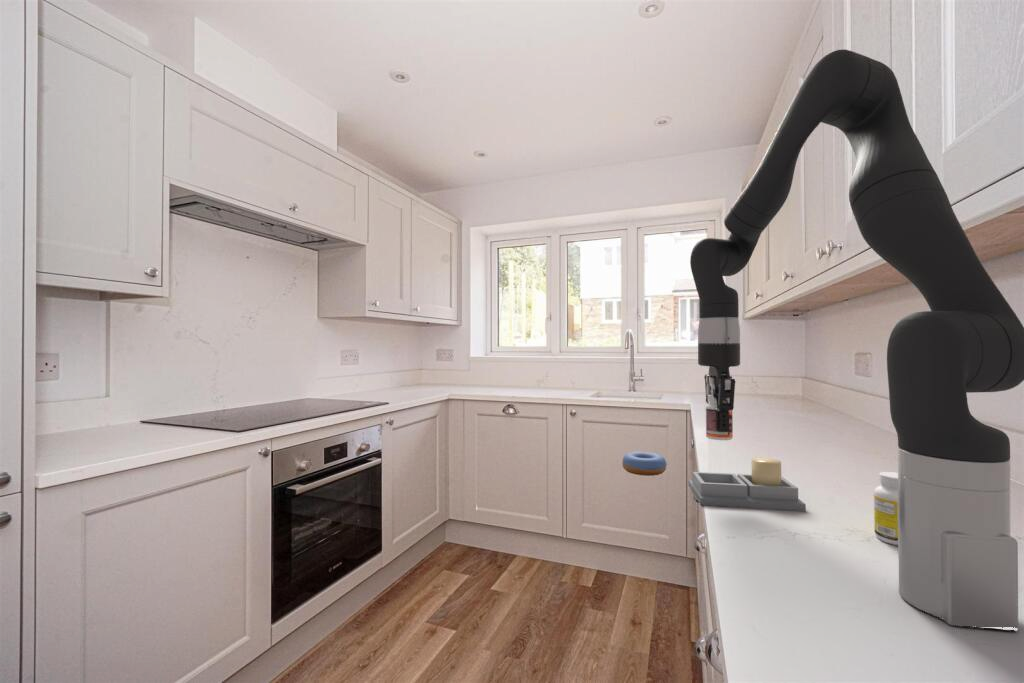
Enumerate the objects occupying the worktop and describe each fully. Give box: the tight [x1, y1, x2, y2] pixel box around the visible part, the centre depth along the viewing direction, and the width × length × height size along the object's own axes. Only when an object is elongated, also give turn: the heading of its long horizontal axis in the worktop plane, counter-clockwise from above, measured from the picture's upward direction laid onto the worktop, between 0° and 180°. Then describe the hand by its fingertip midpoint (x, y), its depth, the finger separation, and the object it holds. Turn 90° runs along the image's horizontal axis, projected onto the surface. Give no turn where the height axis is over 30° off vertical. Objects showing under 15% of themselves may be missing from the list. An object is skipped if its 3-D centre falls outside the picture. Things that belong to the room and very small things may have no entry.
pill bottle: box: [705, 394, 734, 441], centre depth 91 cm, size 5×5×8 cm
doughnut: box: [622, 451, 667, 477], centre depth 109 cm, size 10×10×5 cm
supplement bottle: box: [873, 471, 898, 546], centre depth 71 cm, size 5×5×10 cm
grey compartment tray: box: [688, 457, 807, 512], centre depth 90 cm, size 12×18×7 cm
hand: (718, 428), depth 91 cm, fingers closed on pill bottle, 4 cm apart
